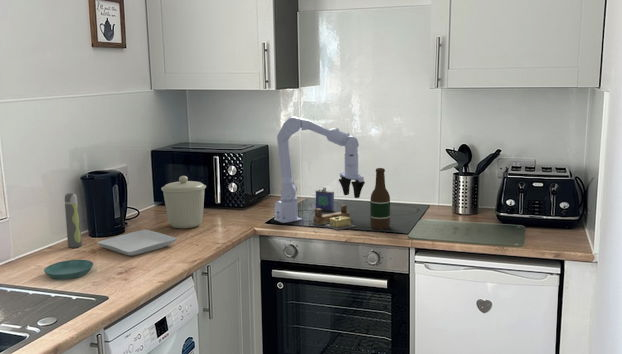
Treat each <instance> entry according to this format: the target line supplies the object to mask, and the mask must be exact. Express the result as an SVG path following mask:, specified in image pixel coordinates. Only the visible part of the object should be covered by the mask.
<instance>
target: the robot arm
mask: <svg viewBox="0 0 622 354" xmlns="http://www.w3.org/2000/svg"><path fill="white" fill-rule="evenodd" d="M300 130H301V131H308V130H309V131H312V132H314V133H316V134H320V135H322V136H324V137H326V139H327V141H328V142H330V143H333V144H334V145H335V144H336V145H337V146H339V147H344V172H339V179H338V182H339V184H340V186H341V189H342V192H343V196H349V195H350V189H351V187H350V186H351V185H352V189H353V197H354V199H360V196H361V193H362V190H363V187H364V185H365V184H366V182H365V179H364V178H365V177H364V176H362V175H361V173H359V153H358V152H359V149H358V148H359V140H358V138H357V137H356V136H354V135H353V134H351V133H350V132H347V133H346V132H345V131H344V132H343V131H341V130H340V128H338V127H332V128H330V129H329V128H327V127H325V126H323V125H320V124H318V123H316V122H314V121H311V120H309V119H307V118H303V117H299V116H296V115H292V116H290V117H289V118H287V119H286V120H285V121H284V122H283V124H282V126H281V127H280V129H279V132H278V133H277V136H276V140H277V149H278V150H277V151H278V158H279V165H280V166H279V167H280V175H281V190H280V197H279V198H280V200H277V201H275V202H274V218H273V219H274V220H275V221H277V222H279V223H281V224H284V223H291V222H298V221H302V220H303V218H301V217H299V214H298V213H299V212H298V210H299V209H298V206H299V205H298V204H299V203H298V202H299V201H298V197H297V196H296V193H297V191H298V190H297V189H298V188H297V187H298V186H297V185H296V183H295V182H294V181H295V180H294V176H293V169H292V159H291V150H290V149H291V148H290V140H289V139H290V138H291V137H292V136H293V135H294V134H296V133H298V132H299V131H300Z"/></svg>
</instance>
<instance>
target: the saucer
mask: <svg viewBox="0 0 622 354" xmlns="http://www.w3.org/2000/svg"><path fill="white" fill-rule="evenodd" d="M93 267H94V262H93V261H91V260H89V259H88V260H87V259H69V260H63V261H59V262H55V263H53V264H50V265H48V266H47V267H45V268H44V269H43V272H44V273H45V274H46V275H47V276H48V277H50V278H52V279H53V280H61V281H62V280H63V281H64V280H72V279H76V278H80V277H83V276H85V275H86V274H88V273H89V272H90V271H91V270H92V268H93Z"/></svg>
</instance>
